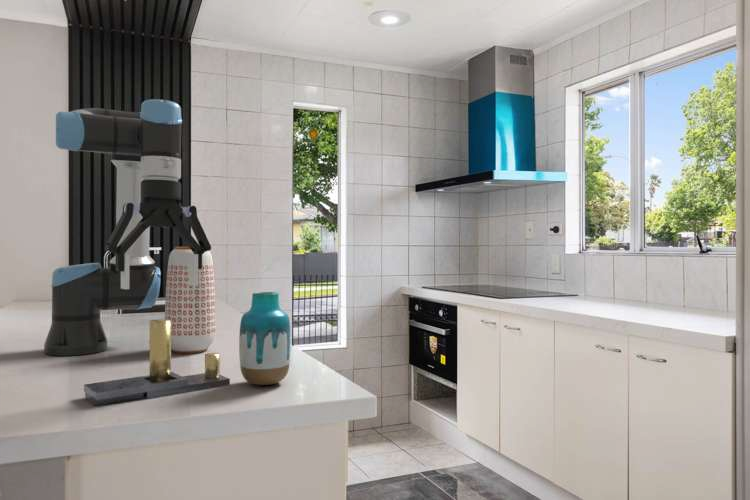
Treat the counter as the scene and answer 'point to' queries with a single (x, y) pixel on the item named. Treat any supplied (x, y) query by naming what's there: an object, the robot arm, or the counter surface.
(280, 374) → the vase
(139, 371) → the counter surface
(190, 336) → the vase
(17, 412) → the counter surface
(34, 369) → the counter surface
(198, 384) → the grey slide latch
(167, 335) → the pin
